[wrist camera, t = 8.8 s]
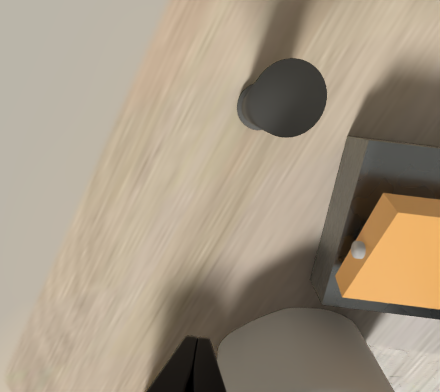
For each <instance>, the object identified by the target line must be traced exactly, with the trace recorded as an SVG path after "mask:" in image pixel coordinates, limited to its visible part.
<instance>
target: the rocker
mask: <svg viewBox="0 0 440 392" xmlns="http://www.w3.org/2000/svg"><path fill="white" fill-rule="evenodd" d="M335 277H336V280H337V283H338V286H339V289H340V292H341V295H342V297H344V298H352V299H360V300H368V301H376V302H384V303H392V304H400V305H408V306H416V307H424V308H432V309H440V200H438V199H430V198H422V197H413V196H405V195H397V194H389V193H383V194H382V196H381V198H380V199H379V201H378V203H377V204H376V206H375V208H374V210H373V211H372V213H371V215H370V217H369V218H368V220H367V222H366V223H365V225H364V227H363V229H362V230H361V232H360V234H359V236H358V237H357V239H356V241H354V242H353V243H352V246H351V249H350V251H349V253H348V254H347V256H346V258H345V260H344V261H343V263H342V265H341V267H340V268H339V270H338V272H337V273H336V275H335Z"/></svg>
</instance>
